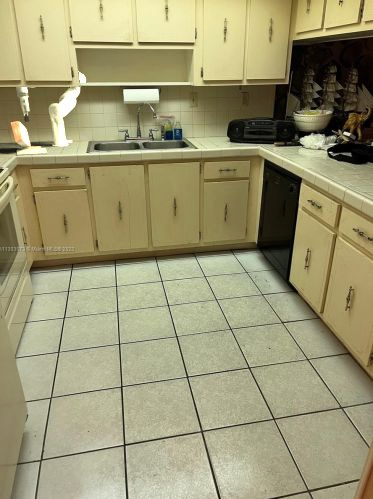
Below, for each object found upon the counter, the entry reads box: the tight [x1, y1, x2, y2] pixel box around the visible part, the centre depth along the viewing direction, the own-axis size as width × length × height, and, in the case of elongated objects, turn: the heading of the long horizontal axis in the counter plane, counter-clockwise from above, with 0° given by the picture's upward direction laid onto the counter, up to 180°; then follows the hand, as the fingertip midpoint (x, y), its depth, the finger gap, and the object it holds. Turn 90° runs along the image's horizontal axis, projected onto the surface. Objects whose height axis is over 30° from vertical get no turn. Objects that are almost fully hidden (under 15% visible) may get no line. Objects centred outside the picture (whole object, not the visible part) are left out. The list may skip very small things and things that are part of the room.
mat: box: [16, 146, 48, 156], centre depth 270 cm, size 20×25×2 cm
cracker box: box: [10, 120, 32, 147], centre depth 271 cm, size 14×6×21 cm
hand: (27, 121), depth 276 cm, fingers closed
